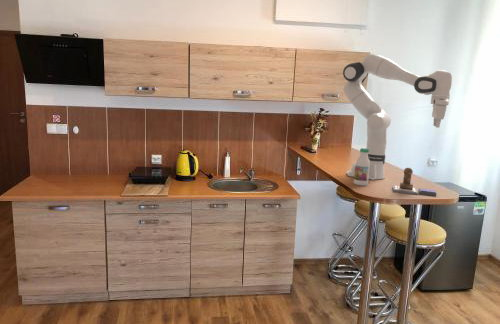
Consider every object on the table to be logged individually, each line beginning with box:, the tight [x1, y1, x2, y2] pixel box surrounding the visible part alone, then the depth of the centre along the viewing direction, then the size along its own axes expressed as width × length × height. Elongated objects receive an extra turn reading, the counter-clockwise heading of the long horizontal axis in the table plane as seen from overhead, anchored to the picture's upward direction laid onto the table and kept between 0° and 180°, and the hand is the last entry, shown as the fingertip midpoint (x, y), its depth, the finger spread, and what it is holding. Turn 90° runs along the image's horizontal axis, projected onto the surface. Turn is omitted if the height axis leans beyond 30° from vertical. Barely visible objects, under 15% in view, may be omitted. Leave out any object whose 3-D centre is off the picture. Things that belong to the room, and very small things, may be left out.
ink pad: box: [417, 187, 437, 197], centre depth 207 cm, size 8×6×2 cm
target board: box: [392, 185, 419, 196], centre depth 210 cm, size 12×10×2 cm
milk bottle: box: [353, 147, 370, 186], centre depth 218 cm, size 8×8×20 cm
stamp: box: [399, 167, 414, 190], centre depth 209 cm, size 6×4×11 cm
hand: (436, 126), depth 216 cm, fingers open, 8 cm apart
